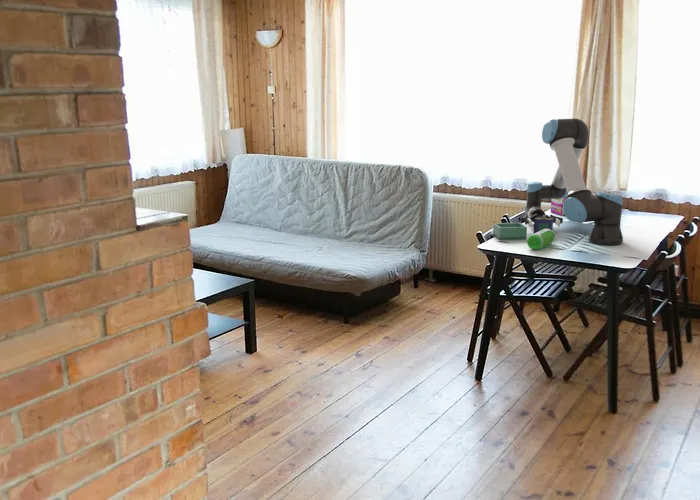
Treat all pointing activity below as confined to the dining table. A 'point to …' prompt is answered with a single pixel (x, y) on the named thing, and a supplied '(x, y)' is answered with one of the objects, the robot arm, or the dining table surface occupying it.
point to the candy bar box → (557, 206)
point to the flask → (543, 223)
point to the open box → (509, 231)
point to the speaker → (541, 239)
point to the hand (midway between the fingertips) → (545, 223)
